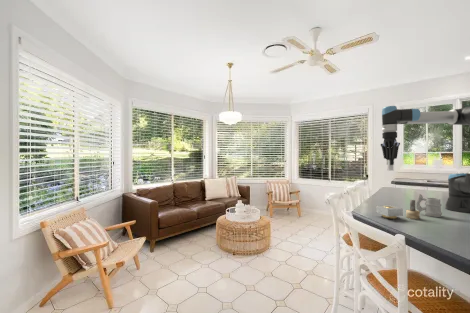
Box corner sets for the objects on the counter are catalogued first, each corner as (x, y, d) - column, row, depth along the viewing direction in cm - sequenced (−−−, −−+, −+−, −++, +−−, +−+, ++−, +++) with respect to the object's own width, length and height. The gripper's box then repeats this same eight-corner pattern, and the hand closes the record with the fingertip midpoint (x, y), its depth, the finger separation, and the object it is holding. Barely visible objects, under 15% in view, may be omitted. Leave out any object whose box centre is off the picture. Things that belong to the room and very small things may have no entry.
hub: (390, 215, 136) (390, 205, 136) (399, 218, 129) (399, 208, 129) (379, 216, 135) (378, 206, 135) (388, 219, 128) (388, 208, 128)
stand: (413, 216, 134) (412, 199, 133) (422, 219, 128) (422, 201, 128) (403, 216, 133) (403, 199, 133) (412, 219, 127) (412, 201, 127)
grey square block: (390, 211, 137) (390, 205, 137) (402, 215, 128) (402, 208, 128) (376, 212, 136) (376, 205, 136) (387, 216, 127) (387, 209, 127)
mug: (441, 218, 129) (441, 196, 129) (415, 214, 137) (414, 194, 137) (442, 215, 134) (442, 194, 134) (417, 212, 143) (416, 192, 142)
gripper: (376, 133, 147) (377, 169, 147) (392, 130, 134) (393, 171, 134) (387, 132, 148) (388, 169, 148) (404, 130, 135) (404, 170, 135)
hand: (390, 170), depth 141 cm, fingers closed
